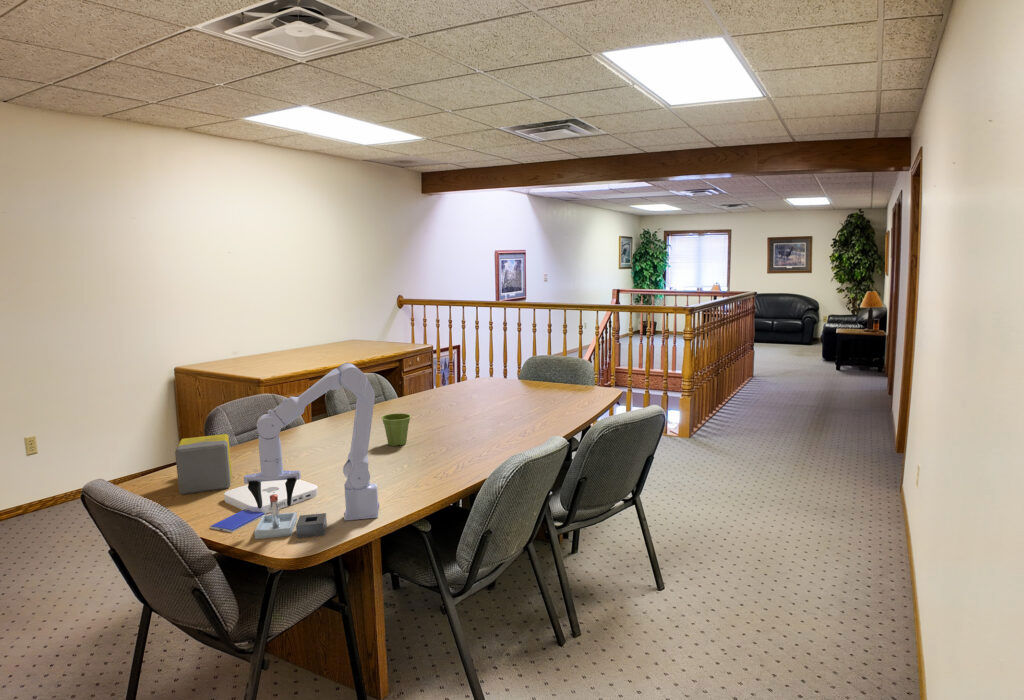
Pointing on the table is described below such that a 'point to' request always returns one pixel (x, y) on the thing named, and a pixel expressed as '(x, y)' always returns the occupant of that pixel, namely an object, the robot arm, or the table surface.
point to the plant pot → (396, 428)
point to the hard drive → (237, 520)
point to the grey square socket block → (311, 525)
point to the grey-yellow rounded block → (203, 464)
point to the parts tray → (285, 529)
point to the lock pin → (275, 511)
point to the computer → (246, 500)
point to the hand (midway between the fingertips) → (274, 505)
